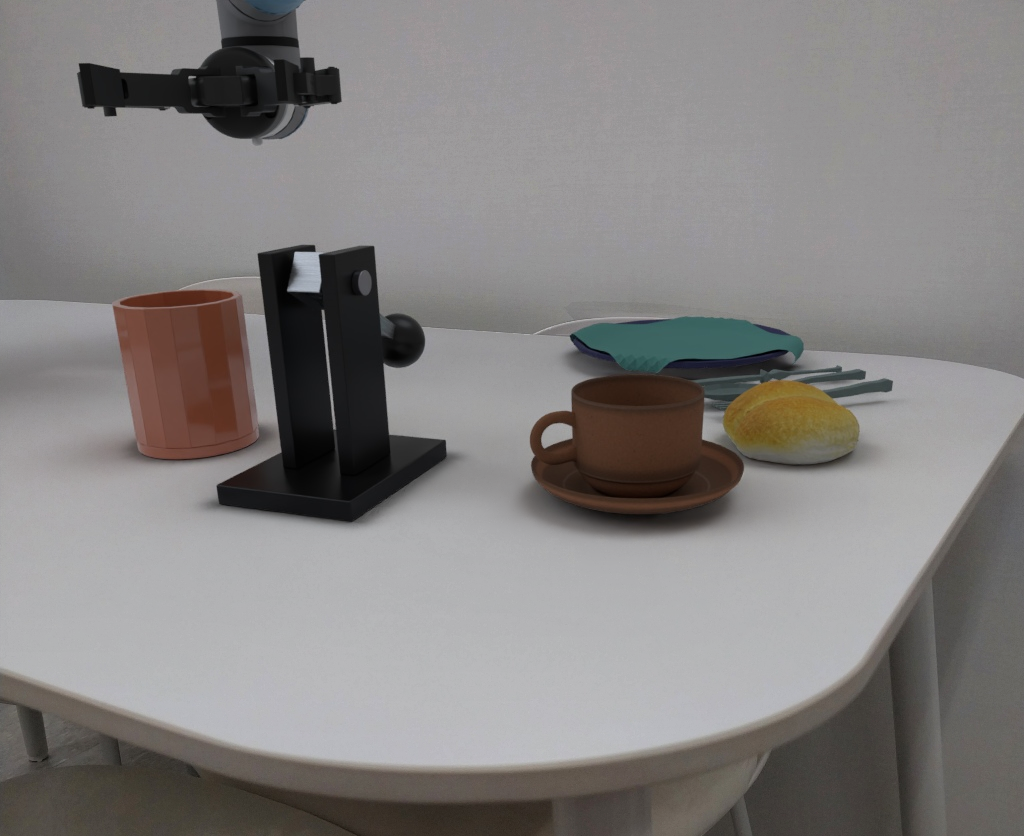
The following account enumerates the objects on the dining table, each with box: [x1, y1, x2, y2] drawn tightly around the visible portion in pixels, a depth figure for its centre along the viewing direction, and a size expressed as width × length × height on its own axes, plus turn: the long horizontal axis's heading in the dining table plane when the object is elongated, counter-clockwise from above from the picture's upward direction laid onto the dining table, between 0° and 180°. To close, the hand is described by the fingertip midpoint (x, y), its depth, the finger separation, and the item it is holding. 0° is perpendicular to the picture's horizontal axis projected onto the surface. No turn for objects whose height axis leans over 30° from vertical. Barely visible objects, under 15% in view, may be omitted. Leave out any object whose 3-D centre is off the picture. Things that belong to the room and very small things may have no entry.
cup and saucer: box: [529, 373, 745, 515], centre depth 55 cm, size 12×12×6 cm
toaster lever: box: [287, 251, 426, 369], centre depth 60 cm, size 13×4×4 cm
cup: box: [111, 288, 260, 460], centre depth 66 cm, size 8×8×10 cm
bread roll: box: [722, 379, 861, 465], centre depth 63 cm, size 8×9×4 cm
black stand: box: [215, 244, 448, 522], centre depth 57 cm, size 12×9×14 cm
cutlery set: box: [569, 315, 894, 411], centre depth 83 cm, size 20×30×2 cm, turn 16°
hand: (184, 82), depth 69 cm, fingers open, 13 cm apart
